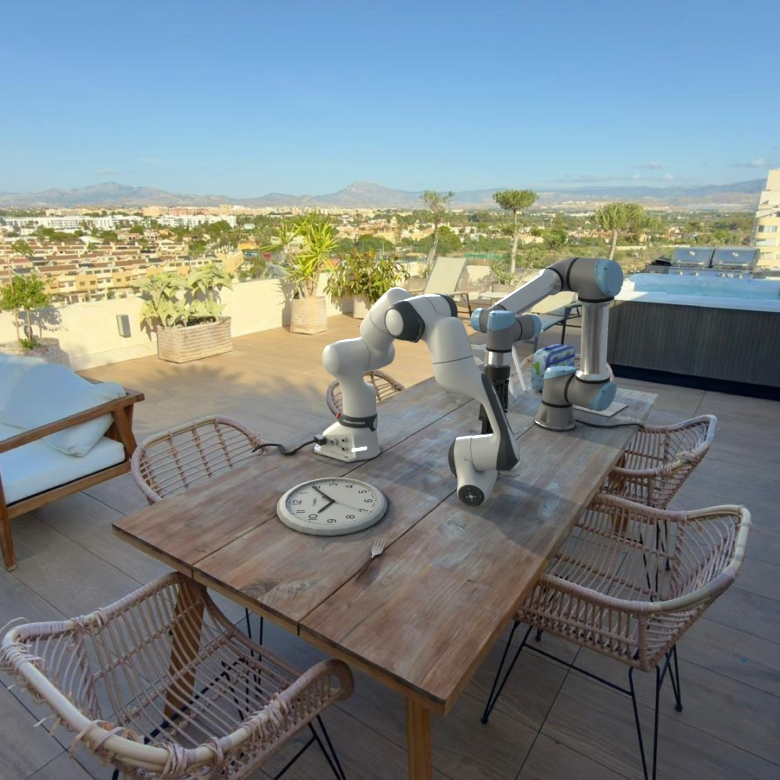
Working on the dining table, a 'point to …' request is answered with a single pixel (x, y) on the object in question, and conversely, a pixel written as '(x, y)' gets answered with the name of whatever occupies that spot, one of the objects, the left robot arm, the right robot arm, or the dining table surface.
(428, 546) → the dining table surface
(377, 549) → the fork
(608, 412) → the invitation card
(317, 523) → the wall clock
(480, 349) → the white plastic object
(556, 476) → the dining table surface
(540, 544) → the dining table surface
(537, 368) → the lunch box
